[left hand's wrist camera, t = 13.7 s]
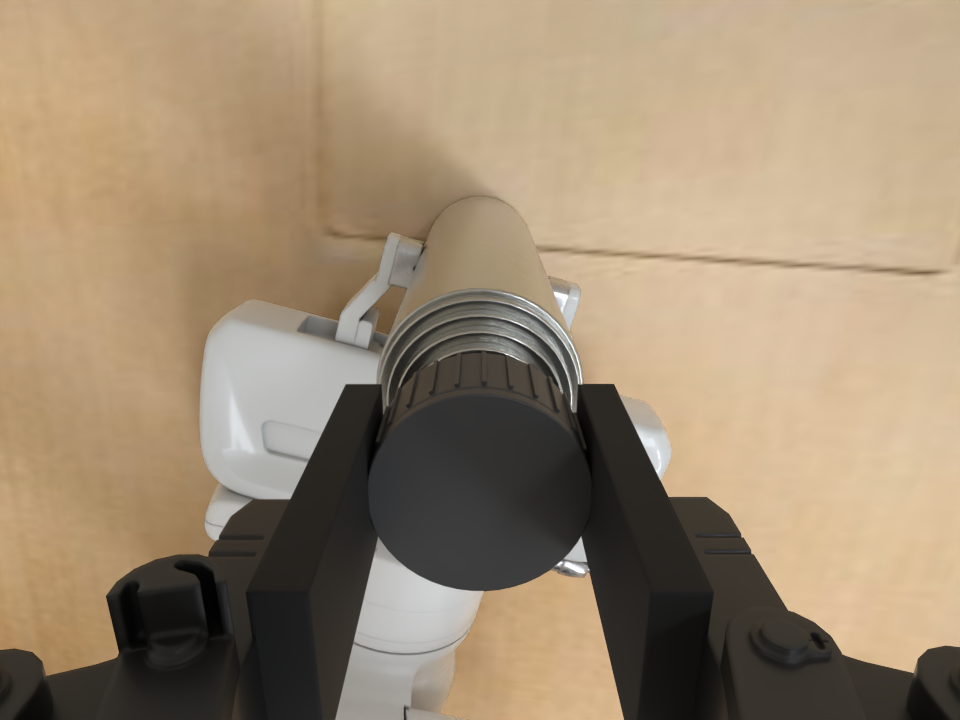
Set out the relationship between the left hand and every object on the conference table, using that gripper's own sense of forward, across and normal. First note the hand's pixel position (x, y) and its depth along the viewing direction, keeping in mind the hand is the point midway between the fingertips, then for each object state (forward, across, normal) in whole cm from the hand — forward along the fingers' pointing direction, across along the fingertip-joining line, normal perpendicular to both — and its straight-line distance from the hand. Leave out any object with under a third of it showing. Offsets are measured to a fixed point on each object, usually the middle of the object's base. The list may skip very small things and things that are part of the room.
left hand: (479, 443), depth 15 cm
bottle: (+21, 0, 0) cm, 21 cm away
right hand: (+14, 0, -1) cm, 14 cm away
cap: (-2, 0, 0) cm, 2 cm away
